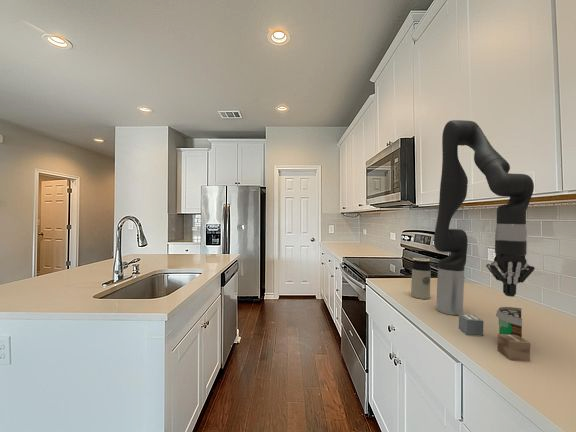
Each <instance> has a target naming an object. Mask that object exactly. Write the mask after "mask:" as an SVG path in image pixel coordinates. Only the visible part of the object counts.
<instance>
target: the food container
mask: <svg viewBox="0 0 576 432" xmlns="http://www.w3.org/2000/svg"><path fill="white" fill-rule="evenodd" d="M495 316H496V318H497V319H498V332H499V333H498V334H509V335H517V336H519V337H521V338H522V337H523V335H522V333H523V332H522V331H523V318H522V308H521V307H514V306H500V307H498V309H497V310H496V314H495Z"/></svg>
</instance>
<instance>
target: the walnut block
mask: <svg viewBox="0 0 576 432" xmlns="http://www.w3.org/2000/svg"><path fill="white" fill-rule="evenodd" d="M497 352H498V353H499V354H500V355H503V356H504V357H505V358H506V359H508V360H510V361H516V362H517V361H520V362H530V360H531V359H530V358H531V342H529V341H527V340H526V339H524V338H521V337H519V336H517V335H509V334H499V333H498V334H497Z"/></svg>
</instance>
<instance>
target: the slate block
mask: <svg viewBox="0 0 576 432" xmlns="http://www.w3.org/2000/svg"><path fill="white" fill-rule="evenodd" d="M459 329H460V330H459ZM458 330H459V331H461V332H462V333H463V334H465V335H466V336H475V337H476V336H477V337H483V336H484V320H483V319H481V318H479V317H478V316H476V315H475V314H462V315H460V314H459V315H458Z"/></svg>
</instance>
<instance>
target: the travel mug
mask: <svg viewBox="0 0 576 432" xmlns="http://www.w3.org/2000/svg"><path fill="white" fill-rule="evenodd" d="M412 260H413V263H412V265H411V294H410V295H411V296H412V298H415V299H419V300H429V299H430V298H431V278H432V277H431V275H432V274H431V271H432V267H431V264H430V261H431V259H430V258H425V257H413V258H412Z"/></svg>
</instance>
